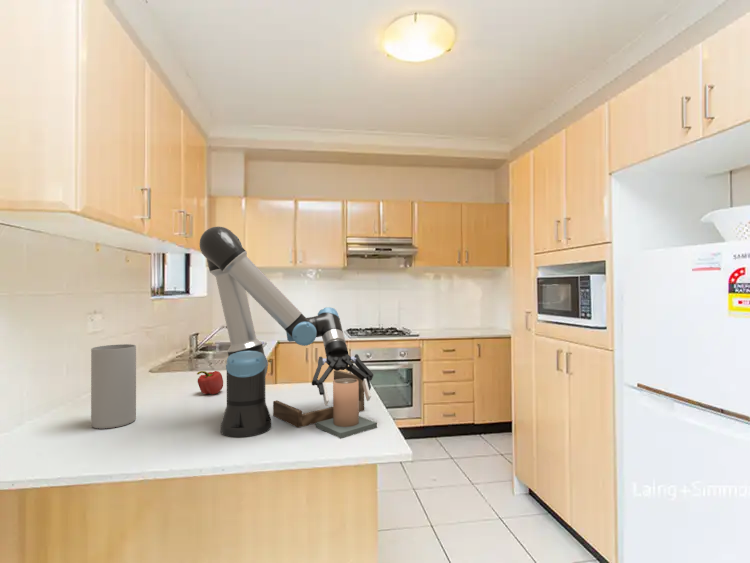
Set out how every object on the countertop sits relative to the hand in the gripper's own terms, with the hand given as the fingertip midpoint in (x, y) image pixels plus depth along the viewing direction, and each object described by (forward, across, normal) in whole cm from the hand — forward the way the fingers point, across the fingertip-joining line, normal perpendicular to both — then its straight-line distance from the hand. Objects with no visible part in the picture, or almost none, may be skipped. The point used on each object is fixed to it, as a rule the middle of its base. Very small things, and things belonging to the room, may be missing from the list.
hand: (348, 401), depth 129 cm
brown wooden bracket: (-8, +5, -21) cm, 23 cm away
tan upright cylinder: (+4, 0, -7) cm, 8 cm away
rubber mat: (+5, 0, -8) cm, 9 cm away
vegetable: (-39, +41, -52) cm, 76 cm away
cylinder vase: (-18, +70, -31) cm, 79 cm away
